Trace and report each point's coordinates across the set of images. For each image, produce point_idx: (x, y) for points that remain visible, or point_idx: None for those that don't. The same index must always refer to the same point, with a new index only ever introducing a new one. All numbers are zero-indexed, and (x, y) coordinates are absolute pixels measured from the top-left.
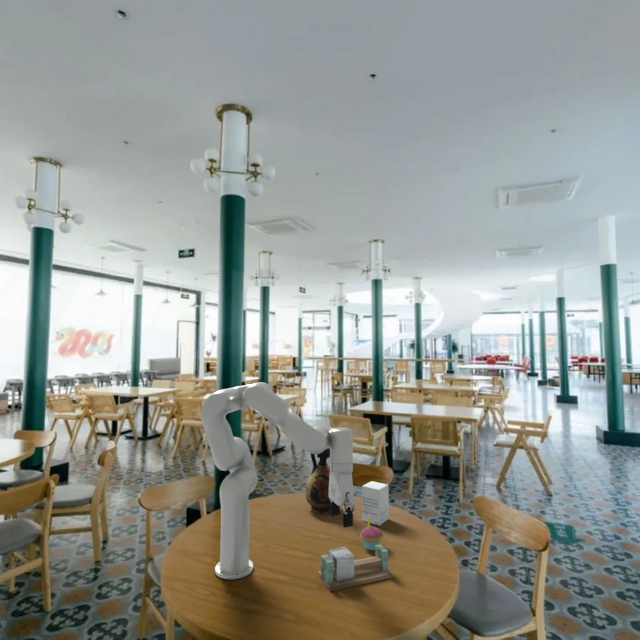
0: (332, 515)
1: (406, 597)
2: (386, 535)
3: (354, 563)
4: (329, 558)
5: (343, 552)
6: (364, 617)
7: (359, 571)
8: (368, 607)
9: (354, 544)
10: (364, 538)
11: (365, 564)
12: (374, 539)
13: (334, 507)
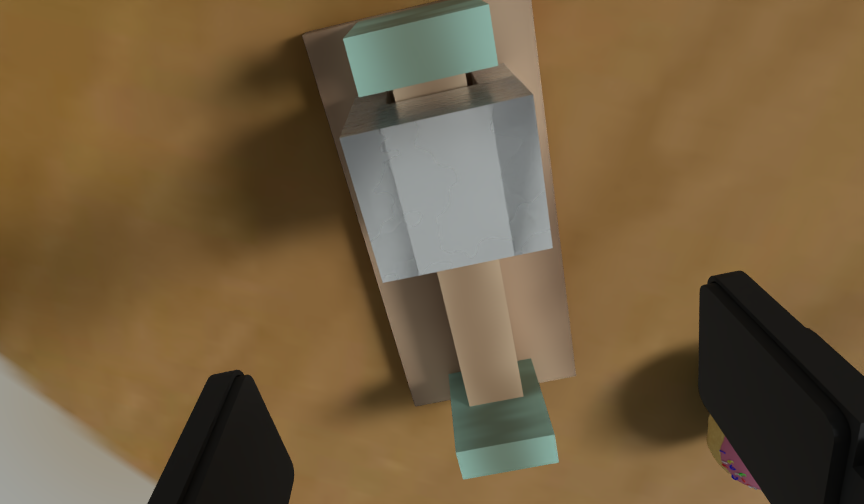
0: (702, 291)
1: None
2: None
3: None
4: (422, 78)
5: (451, 215)
6: (49, 181)
7: None
8: (144, 222)
9: (824, 301)
10: None
11: (448, 315)
12: (718, 431)
13: (778, 415)
